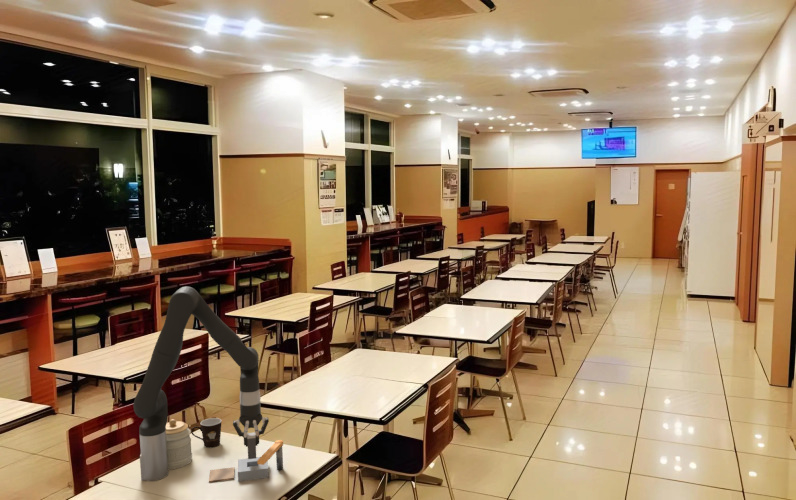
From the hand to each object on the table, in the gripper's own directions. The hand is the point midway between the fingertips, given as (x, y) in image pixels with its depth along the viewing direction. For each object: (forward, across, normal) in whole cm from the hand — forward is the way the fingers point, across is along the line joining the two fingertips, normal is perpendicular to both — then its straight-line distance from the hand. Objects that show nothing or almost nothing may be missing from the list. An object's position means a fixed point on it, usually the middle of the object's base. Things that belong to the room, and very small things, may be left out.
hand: (251, 445), depth 232 cm
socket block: (+11, 0, 0) cm, 11 cm away
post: (+11, +10, 0) cm, 15 cm away
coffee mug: (+11, -18, +32) cm, 38 cm away
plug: (+5, 0, 0) cm, 5 cm away
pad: (+11, -11, +1) cm, 16 cm away
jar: (+11, -30, +18) cm, 37 cm away
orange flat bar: (+1, +7, -7) cm, 10 cm away
